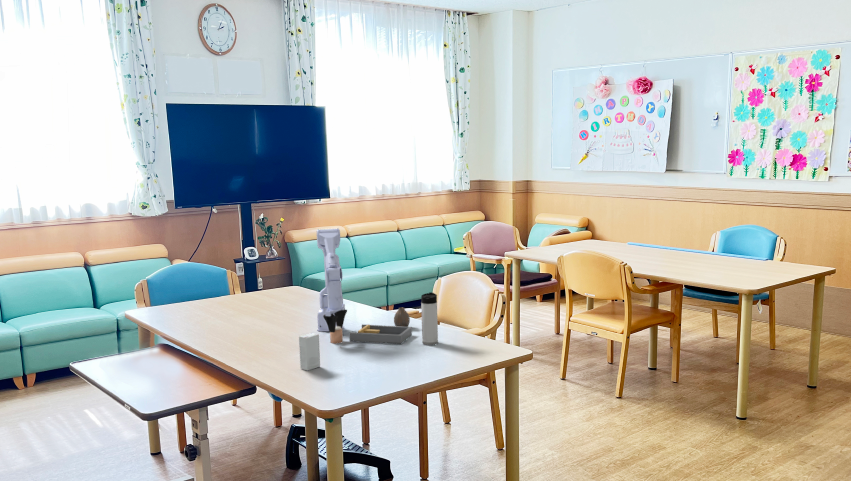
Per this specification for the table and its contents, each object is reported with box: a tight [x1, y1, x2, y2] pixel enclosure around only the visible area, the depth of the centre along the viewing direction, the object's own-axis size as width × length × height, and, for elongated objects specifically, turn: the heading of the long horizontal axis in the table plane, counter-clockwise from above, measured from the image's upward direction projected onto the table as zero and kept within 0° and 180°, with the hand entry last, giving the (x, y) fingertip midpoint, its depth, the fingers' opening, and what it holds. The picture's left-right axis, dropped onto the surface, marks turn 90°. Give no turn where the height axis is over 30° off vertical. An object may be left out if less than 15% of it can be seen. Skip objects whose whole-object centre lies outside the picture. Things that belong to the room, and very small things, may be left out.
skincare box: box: [298, 332, 321, 371], centre depth 244 cm, size 6×4×12 cm
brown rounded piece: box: [393, 307, 411, 327], centre depth 298 cm, size 7×7×9 cm
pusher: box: [357, 324, 380, 334], centre depth 283 cm, size 7×11×3 cm, turn 163°
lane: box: [349, 324, 413, 345], centre depth 282 cm, size 22×14×4 cm, turn 73°
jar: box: [329, 326, 344, 345], centre depth 278 cm, size 5×5×6 cm
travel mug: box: [420, 291, 439, 346], centre depth 272 cm, size 6×7×20 cm
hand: (336, 329), depth 278 cm, fingers open, 7 cm apart
